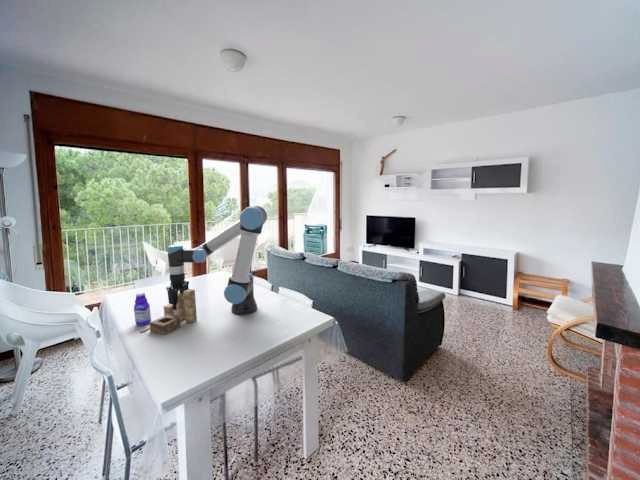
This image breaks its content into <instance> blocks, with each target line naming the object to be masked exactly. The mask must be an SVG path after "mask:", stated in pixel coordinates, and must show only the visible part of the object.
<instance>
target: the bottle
mask: <svg viewBox="0 0 640 480" xmlns="http://www.w3.org/2000/svg"><path fill="white" fill-rule="evenodd" d="M150 306H151V305H150V303H149V302H148V298H147V297H146V293H145V291H139V292H136V293H135V301H134V306H133V313H134V321H135V324H136V325H137V326H145V325H150V322H152V316H151V315H152V313H151V309H150V308H151V307H150Z"/></svg>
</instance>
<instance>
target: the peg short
mask: <svg viewBox="0 0 640 480" xmlns="http://www.w3.org/2000/svg"><path fill="white" fill-rule="evenodd" d="M163 313H164V315H163V316H166V315H169V316H173V317H175V315H174V310H173V305H172V304H169V303H168V304H166V305H164V306H163Z"/></svg>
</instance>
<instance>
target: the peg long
mask: <svg viewBox="0 0 640 480" xmlns="http://www.w3.org/2000/svg"><path fill="white" fill-rule="evenodd" d="M183 292H184V305H185V319H184V320H185V323H186V324H193V323H196V322H198V317H197V302H196V300H197V299H196V290H195V289H193V288H192V289H191V288H188V290H185V291H183Z"/></svg>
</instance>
